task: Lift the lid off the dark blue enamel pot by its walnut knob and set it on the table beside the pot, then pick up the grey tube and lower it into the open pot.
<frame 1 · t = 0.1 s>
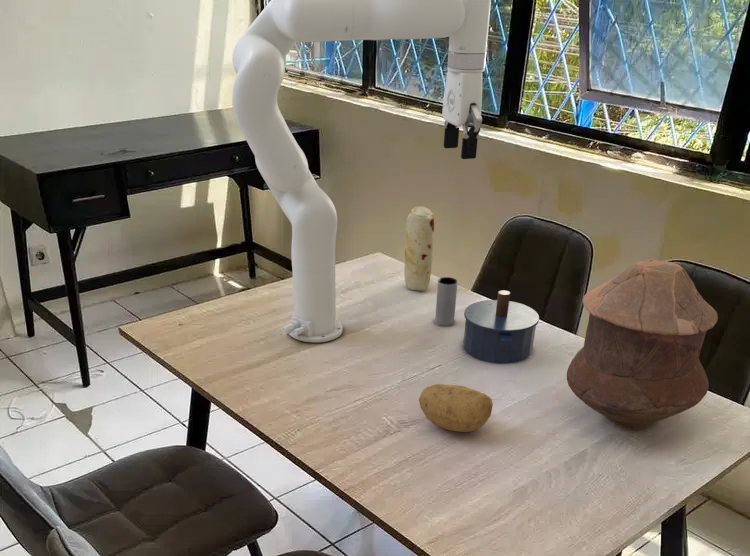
hand: (459, 153, 166), 37 cm above the table, tool pointing down, fingers open, 9 cm apart
pottery vessel: (625, 417, 151), on the table
lid: (501, 317, 170), point 7 cm above the table, touching pot
potato: (452, 427, 147), on the table
grey tube: (444, 323, 185), on the table
food model: (417, 287, 203), on the table
pot: (497, 348, 175), on the table
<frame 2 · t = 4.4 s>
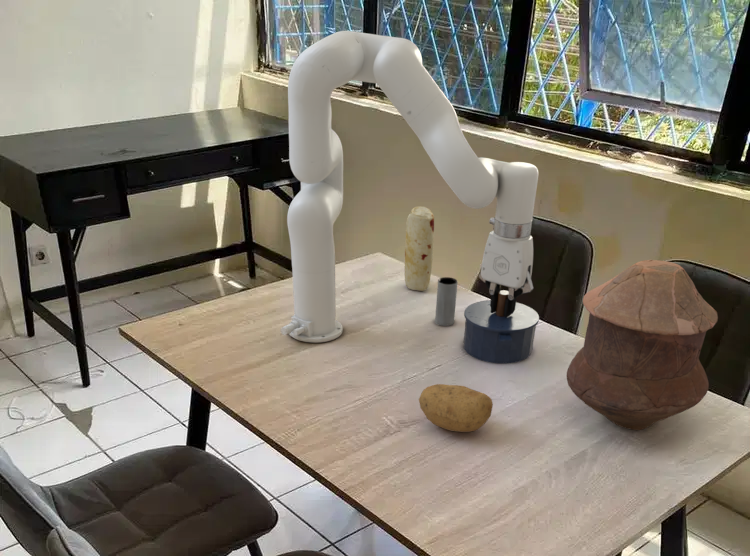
hand: (501, 312, 169), 9 cm above the table, tool pointing down, fingers closed on lid, 2 cm apart
lid: (501, 316, 170), point 8 cm above the table, touching gripper, pot
everything else where it was.
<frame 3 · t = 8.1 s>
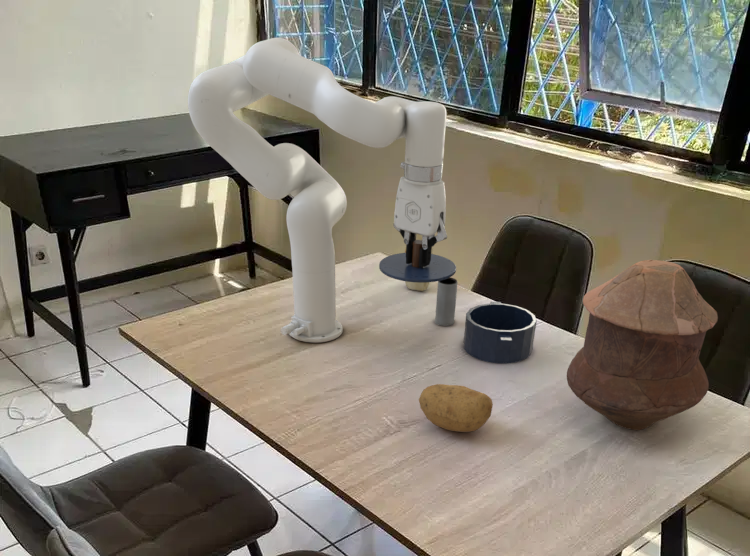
hand: (417, 263, 163), 19 cm above the table, tool pointing down, fingers closed on lid, 2 cm apart
lid: (417, 268, 164), point 18 cm above the table, touching gripper
everything else where it was.
when the fingers open (2 cm above the table, at t = 12.1 s): lid stays where it is, point 1 cm above the table.
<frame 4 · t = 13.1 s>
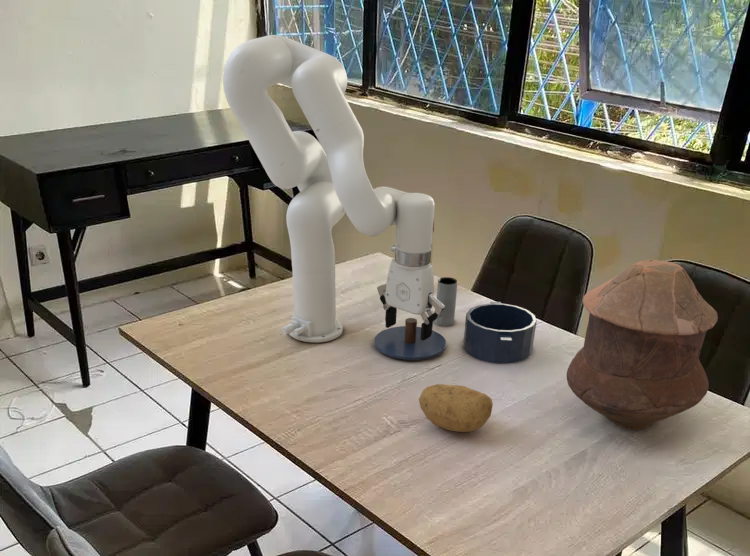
hand: (407, 332, 173), 3 cm above the table, tool pointing down, fingers open, 9 cm apart
lid: (410, 343, 174), point 1 cm above the table
everything else where it was.
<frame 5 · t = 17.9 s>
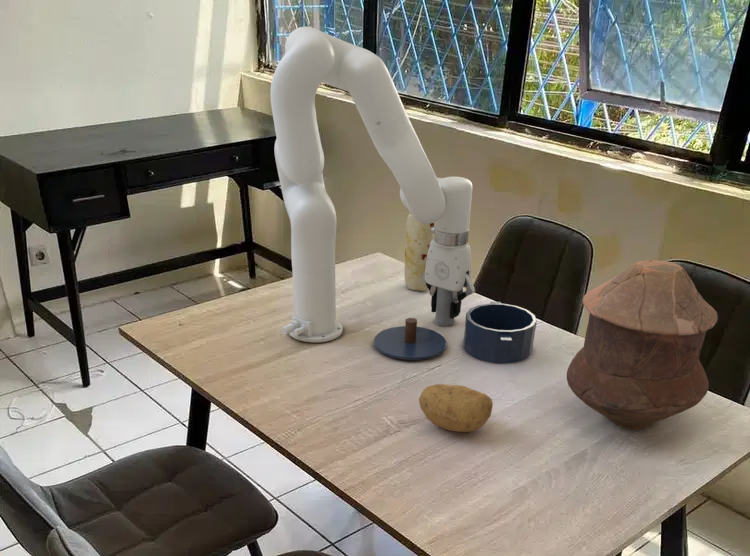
hand: (445, 312, 184), 2 cm above the table, tool pointing down, fingers closed on grey tube, 4 cm apart
grey tube: (444, 323, 185), on the table, touching gripper
everything else where it was.
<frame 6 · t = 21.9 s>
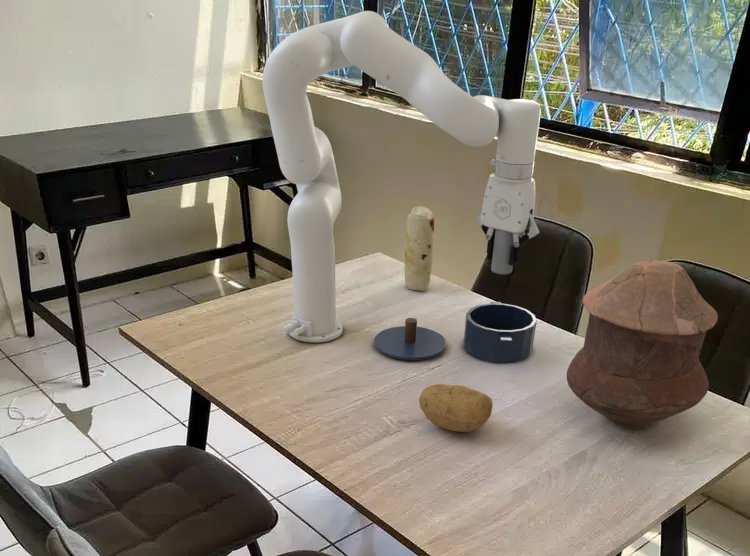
hand: (502, 259, 164), 20 cm above the table, tool pointing down, fingers closed on grey tube, 4 cm apart
grey tube: (501, 271, 165), point 17 cm above the table, touching gripper
everything else where it was.
when the fingers open (3 cm above the table, at t = 26.0 s): grey tube stays where it is, resting on pot.
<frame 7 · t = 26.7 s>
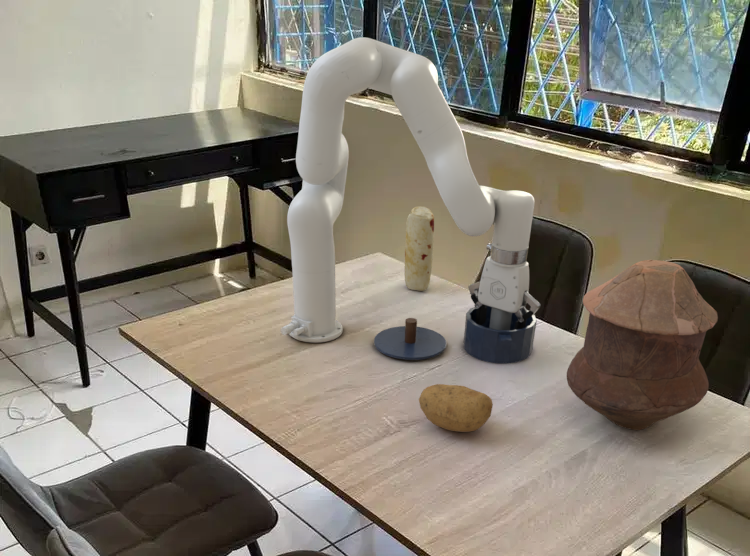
hand: (499, 330, 172), 4 cm above the table, tool pointing down, fingers open, 9 cm apart
grey tube: (497, 346, 174), resting on pot
everything else where it was.
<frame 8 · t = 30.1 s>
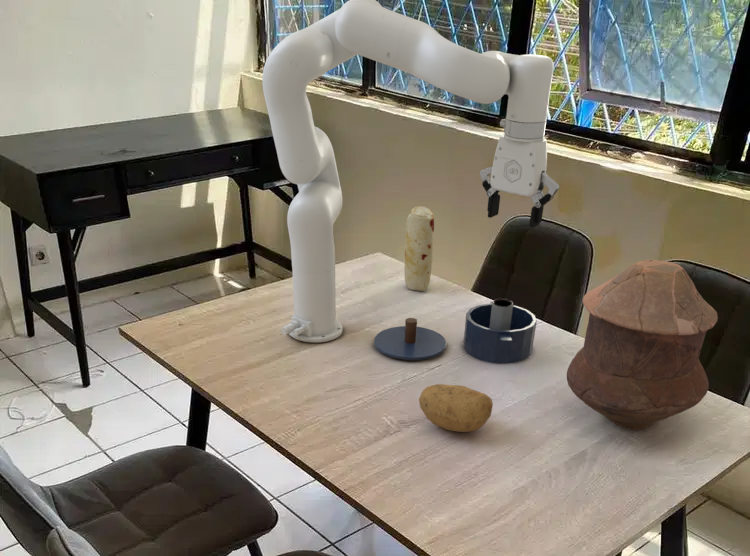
hand: (513, 220, 158), 28 cm above the table, tool pointing down, fingers open, 9 cm apart
nothing on the table moved.
at the end: lid inside the target area (0.2 cm from its centre), point 0.6 cm above the table; grey tube inside the target area in the pot (0.1 cm from its centre), point 0.3 cm above the pot's base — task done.
